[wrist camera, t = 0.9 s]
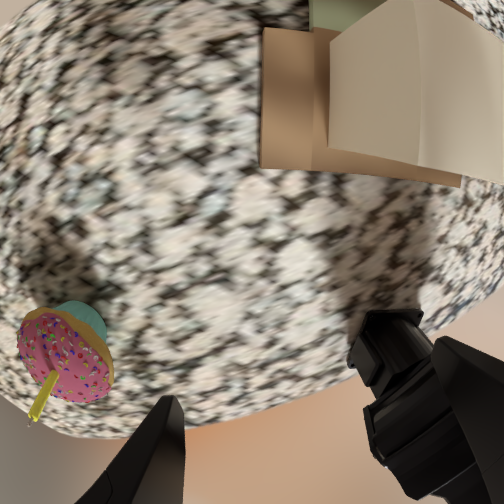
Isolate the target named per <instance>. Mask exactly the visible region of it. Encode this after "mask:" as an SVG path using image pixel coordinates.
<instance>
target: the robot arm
mask: <svg viewBox="0 0 504 504" xmlns="http://www.w3.org/2000/svg"><path fill="white" fill-rule="evenodd" d="M423 314H424V312H423V311H422V310H421V309H402V310H372V311H369V312H368V313H367V314H366V316H365V319H364V321H363V324H362V327H361V329H360V332H359V334H358V336H357V339H356V341H355V344H354V346H353V349H352V351H351V354H350V357H349V360H348V362H347V365H348V367H349V368H350V369H354V368H357V370H358V372H359V374H360V376H361V378H362V380H363V382H364V384H365V386H366V387H370V388H371V390H372V392H373V394H374V396H375V398H376V400H375V401H374V402H373V403H372V404H370V405H367V406H366V407H365V408H363V413H364V420H365V425H366V430H367V435H368V440H369V446H370V451H371V452H372V454H373V457H374V458H375V459H377V460H378V461H379V462H380V464H381V465H383V466H384V467H385V468H387V469H389V470H390V471H391V472H392V473H393V475H394V476H395V477H396V479H397V480H398V482H399V483H400V485H401V487H402V489H403V490H404V492H405V494H406V495H407V496H408V497H410V498H412V499H415V500H417V501H418V500H421V499H422V498H424V497H426V496H428V495H432V496H437V497H441V498H444V499H445V500H446V502H447V503H448V504H504V362H503V361H501V360H499V359H497V358H495V357H493V356H490V355H488V354H486V353H484V352H481V351H479V350H477V349H475V348H473V347H470V346H468V345H466V344H464V343H462V342H459V341H457V340H455V339H453V338H451V337H448V336H442V337H440V338H437V339H436V341H435V343H434V345H433V343H431V341H430V340H429V339H428V337H427V336H426V335H425V334H424V333H423V331H422V330H421V329H420V328H419V327H418V326H419V324H420V322H421V319H422V317H423ZM371 316H372V317H371ZM370 317H371V318H370ZM185 455H186V451H185V429H184V412H183V409H182V407H181V405H180V403H179V402H178V400H177V398H176V396H174V395H164V396H162V397H161V398H160V399H159V400H158V402H157V403H156V404H155V406H154V407H153V408H152V410H151V411H150V412H149V414H148V415H147V416H146V418H145V419H144V420H143V421H142V423H141V424H140V425H139V427H138V428H137V429H136V431H135V432H134V433H133V434H132V436H131V437H130V438H129V440H128V441H127V442H126V443H125V445H124V446H123V447H122V449H121V450H120V451H119V453H118V454H117V455H116V457H115V458H114V459H113V460H112V462H111V463H110V464H109V465H108V467H107V468H106V470H104V472H103V473H102V474H101V475H100V477H99V478H98V479H97V480H96V481H95V483H94V484H93V485H92V486H91V487H90V488H89V489H88V491H86V492H85V494H84V495H83V496H82V497H81V498H80V499H79V500H77V501H76V502H75V503H74V504H182V503H183V487H184V470H185Z"/></svg>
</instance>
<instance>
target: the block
mask: <svg viewBox="0 0 504 504" xmlns="http://www.w3.org/2000/svg"><path fill="white" fill-rule="evenodd" d="M328 148H334V149H340V150H346V151H352V152H357V153H362V154H368V155H373V156H377V157H382V158H387V159H391V160H396V161H400V162H404V163H408V164H412V165H416V166H421V167H427V168H432V169H437V170H442V171H447V172H451V173H456V174H460V175H465V176H469V177H473V178H477V179H481V180H485V181H489V182H492V183H496V184H500V185H503V186H504V42H502V41H501V40H500V39H498V38H497V37H496V36H494V35H493V34H492V33H490V32H489V31H488V30H486V29H485V28H483V27H482V26H480V25H479V24H478V23H476V22H475V21H473V20H472V19H470V18H468V17H467V16H465V15H464V14H462V13H460V12H459V11H457V10H455V9H454V8H452V7H450V6H449V5H447V4H445V3H443V2H441V1H439V0H387V1H386V2H384V3H383V4H381V5H380V6H378V7H377V8H375V9H374V10H373V11H371V12H370V13H368V14H367V15H365V16H364V17H363V18H361V19H360V20H358V21H357V22H356V23H354V24H353V25H352V26H350V27H349V28H348V29H346V30H345V31H344V32H342V33H341V34H340V35H338V36H337V37H336V38H335V39H333V40H332V41H331V42H330V108H329V135H328Z"/></svg>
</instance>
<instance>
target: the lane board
mask: <svg viewBox="0 0 504 504" xmlns="http://www.w3.org/2000/svg"><path fill="white" fill-rule="evenodd" d="M386 1H387V0H309V32H304V31H297V30H288V29H279V28H267V27H265V28H264V30H263V39H262V86H261V128H260V168H261V169H288V170H310V171H326V172H340V173H352V174H363V175H373V176H382V177H391V178H399V179H406V180H414V181H421V182H427V183H434V184H440V185H446V186H452V187H457V188H460V185H461V177H462V175H460V174H456V173H451V172H447V171H442V170H437V169H432V168H427V167H421V166H416V165H412V164H408V163H404V162H400V161H396V160H391V159H387V158H382V157H377V156H373V155H368V154H362V153H357V152H352V151H346V150H340V149H334V148H328V135H329V108H330V42H331V41H332V40H333V39H335V38H336V37H337V36H338V35H340V34H341V33H342V32H344V31H345V30H346V29H348V28H349V27H350V26H352V25H353V24H354V23H356V22H357V21H358V20H360V19H361V18H363V17H364V16H365V15H367V14H368V13H370V12H371V11H373V10H374V9H375V8H377V7H378V6H380V5H381V4H383V3H384V2H386ZM439 1H441V2H443V3H445V4H447V5H449V6H450V7H452V8H454V9H455V10H457V11H459V12H460V13H462V14H464V15H465V16H467V17H468V18H470V19H472V20H473V21H474V19H473V14H471V13H470V12H468V11H466V10H465V9H463V8H462V7H460V6H458V5H457V4H455V3H453V2H452V1H450V0H439Z"/></svg>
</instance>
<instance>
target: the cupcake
mask: <svg viewBox="0 0 504 504" xmlns="http://www.w3.org/2000/svg"><path fill="white" fill-rule="evenodd" d="M16 334H17V342H18V344H17V348H18V347H19V356H21V358H20V359H21V360H22V361H23V364H24V366H25V367H26V368H27V371H28V372H29V373H30V374H31V377H33V379H34V380H35V381H36V382H37V384H38V385H40V386H42V388H41V390H40V392H39V394H38V396H37V398H36V400H35V401H34V403H33V405H32V407H31V409H30V411H29V413H28V416H29V418H30V420H29V422H28V424H27V426H28V427H30V426H31V424H32V422H33V421H37V420H38V418H39V416H40V414H41V412H42V410H43V407H44V405H45V403H46V401H47V399H48V397H49V395H51V394H52V395H53V396H54V397H56V398H57V397H59V398H61V399H64V400H66V401H67V402H69V401H72V402H78V403H82V402H85V403H88V402H90V401H91V402H95V400H100V399H101V397H103V396H104V395H106V394H107V395H108V392H109V391H110V390H111V386H112V384H113V382H114V367H113V361H112V357H111V354H110V351H109V349H108V347H107V345H106V335H107V331H106V326H105V323H104V321H103V319H102V318H101V316H100V315H99V314H98V313H97V312H96V311H95V310H94V309H93V308H92V307H90V306H89V305H87V304H85V303H83V302H80V301H74V300H73V301H67V302H65V303H63V304H61V305H60V306H58V307H55V308H51V309H50V308H46V307H40V308H37V309H35V310H33V311H31V312H29V313H28V314H27V315H26V316H25V317H24V319H23V321H22V324H21V327H20V329H19V330H18V331H17V332H16ZM52 395H51V396H52Z"/></svg>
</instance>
